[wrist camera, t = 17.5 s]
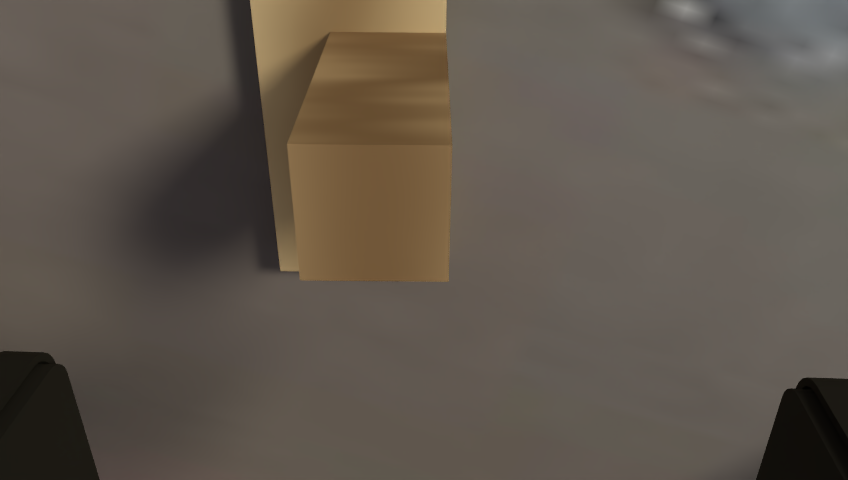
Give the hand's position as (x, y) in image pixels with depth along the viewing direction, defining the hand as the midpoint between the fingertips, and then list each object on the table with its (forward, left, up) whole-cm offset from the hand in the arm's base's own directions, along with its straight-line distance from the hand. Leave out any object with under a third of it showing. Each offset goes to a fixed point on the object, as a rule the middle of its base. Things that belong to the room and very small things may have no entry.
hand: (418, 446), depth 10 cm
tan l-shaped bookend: (0, +1, -14) cm, 14 cm away
